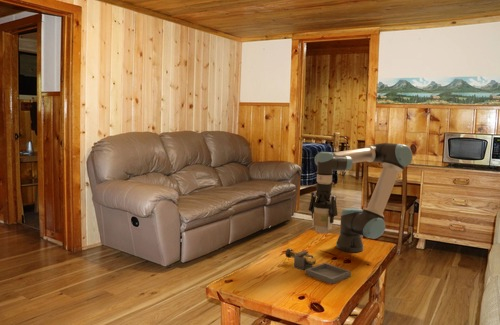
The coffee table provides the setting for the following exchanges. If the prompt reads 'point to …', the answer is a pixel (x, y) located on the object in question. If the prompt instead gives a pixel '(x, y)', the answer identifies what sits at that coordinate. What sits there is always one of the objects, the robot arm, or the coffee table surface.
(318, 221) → the coffee cup
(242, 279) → the coffee table surface
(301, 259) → the pin mount
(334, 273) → the grey square tray
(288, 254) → the lock pin
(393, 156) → the robot arm
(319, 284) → the coffee table surface
